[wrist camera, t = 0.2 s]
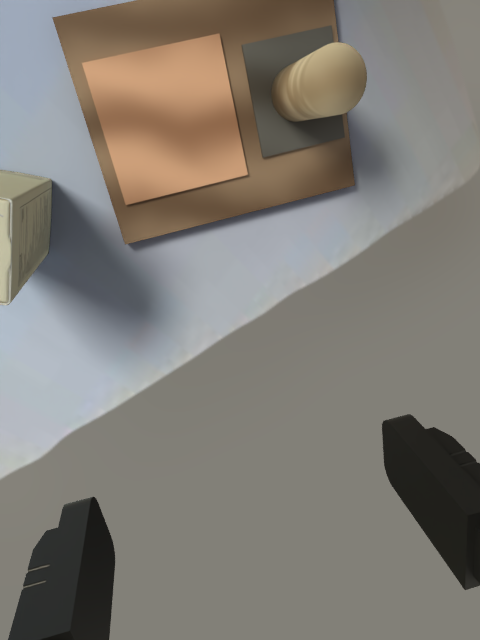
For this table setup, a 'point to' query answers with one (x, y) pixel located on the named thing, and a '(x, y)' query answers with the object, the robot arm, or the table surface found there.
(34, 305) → the table surface
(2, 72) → the table surface
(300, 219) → the table surface
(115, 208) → the board
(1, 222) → the skincare box
